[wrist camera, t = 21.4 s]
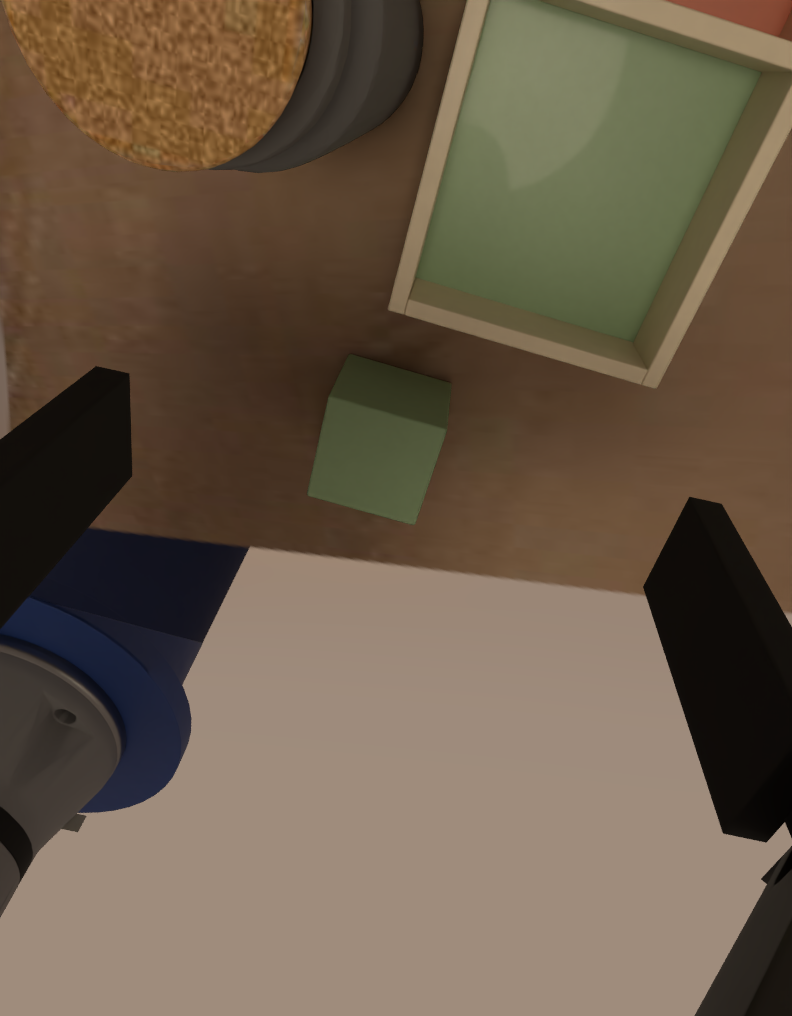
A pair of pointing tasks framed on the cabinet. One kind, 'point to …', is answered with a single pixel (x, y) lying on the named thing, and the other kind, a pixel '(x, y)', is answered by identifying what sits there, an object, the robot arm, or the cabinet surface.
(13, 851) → the robot arm
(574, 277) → the sorting tray
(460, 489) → the cabinet surface
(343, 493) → the sage block
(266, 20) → the bottle
